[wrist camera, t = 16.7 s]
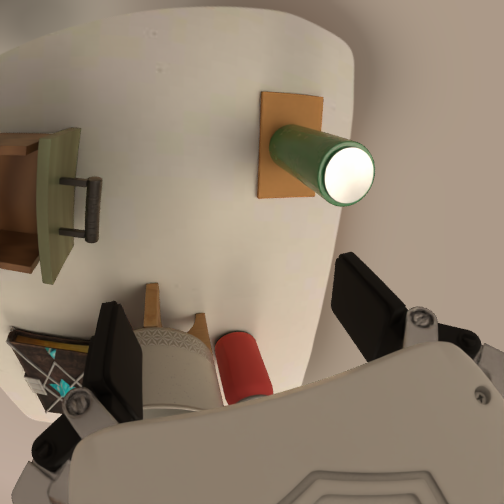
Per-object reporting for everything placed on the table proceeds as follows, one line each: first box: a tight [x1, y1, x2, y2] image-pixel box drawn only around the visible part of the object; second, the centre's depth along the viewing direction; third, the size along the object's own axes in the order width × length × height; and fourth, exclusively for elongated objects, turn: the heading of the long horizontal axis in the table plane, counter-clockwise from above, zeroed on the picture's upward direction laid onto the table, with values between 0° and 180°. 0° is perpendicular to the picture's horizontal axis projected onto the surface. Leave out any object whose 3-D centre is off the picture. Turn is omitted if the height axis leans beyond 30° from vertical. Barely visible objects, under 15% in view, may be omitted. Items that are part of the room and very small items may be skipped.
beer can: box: [215, 332, 273, 405], centre depth 39 cm, size 7×7×12 cm
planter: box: [133, 283, 224, 420], centre depth 30 cm, size 13×13×18 cm
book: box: [6, 327, 90, 414], centre depth 37 cm, size 22×17×5 cm
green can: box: [269, 124, 375, 207], centre depth 25 cm, size 5×5×12 cm
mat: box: [257, 92, 323, 199], centre depth 30 cm, size 12×7×1 cm, turn 178°
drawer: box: [0, 128, 102, 285], centre depth 21 cm, size 18×13×8 cm
